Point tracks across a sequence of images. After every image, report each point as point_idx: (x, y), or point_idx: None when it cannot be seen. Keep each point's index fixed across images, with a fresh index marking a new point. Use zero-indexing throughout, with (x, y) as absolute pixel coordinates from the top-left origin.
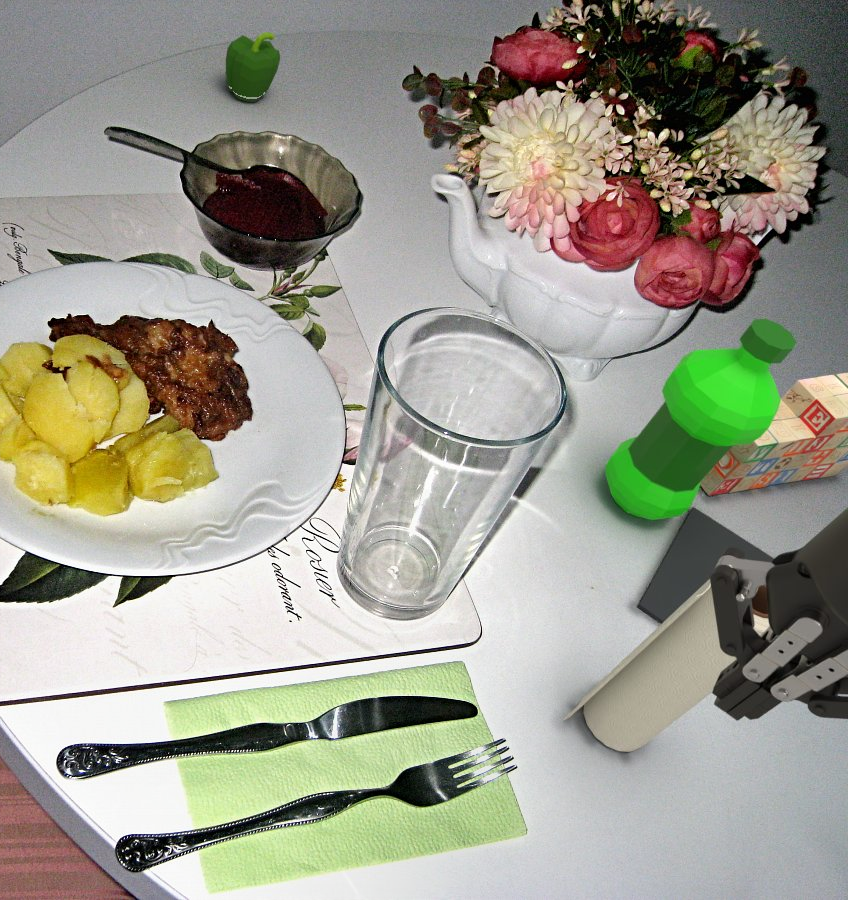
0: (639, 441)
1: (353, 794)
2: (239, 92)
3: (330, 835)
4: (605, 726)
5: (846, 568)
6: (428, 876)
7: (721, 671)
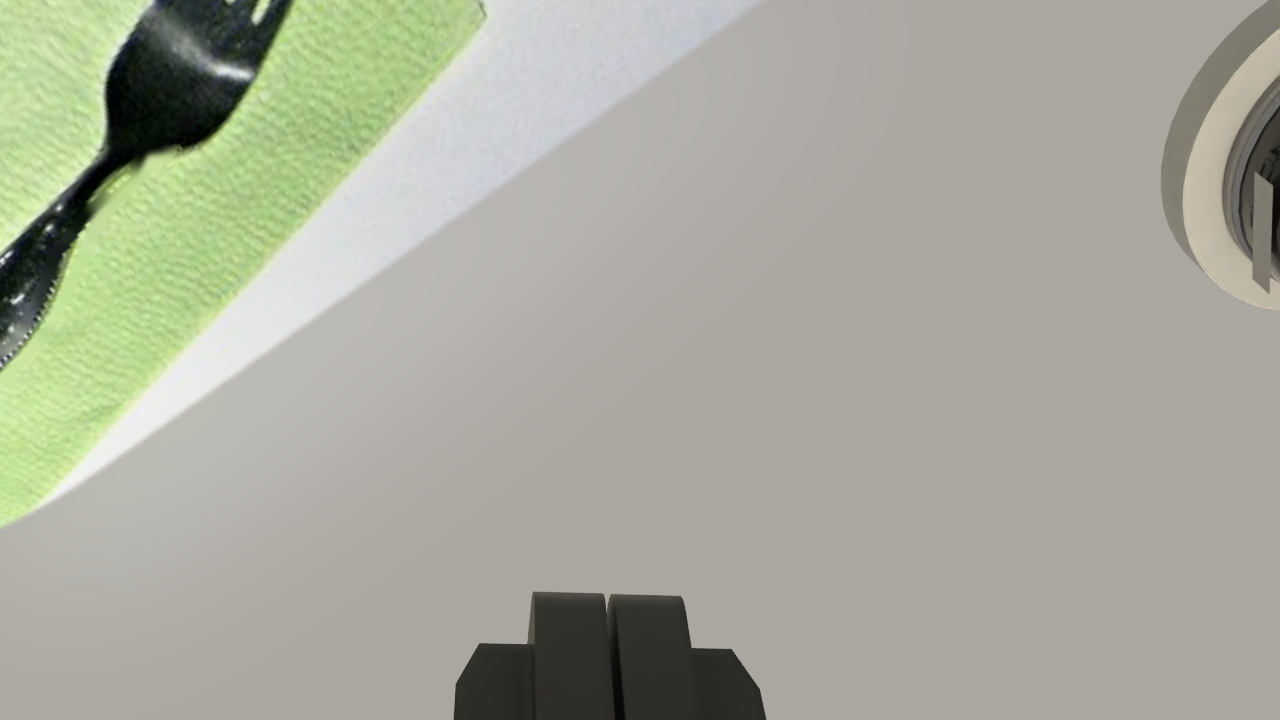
0: None
1: (52, 223)
2: None
3: (83, 334)
4: None
5: None
6: (326, 272)
7: (455, 695)
